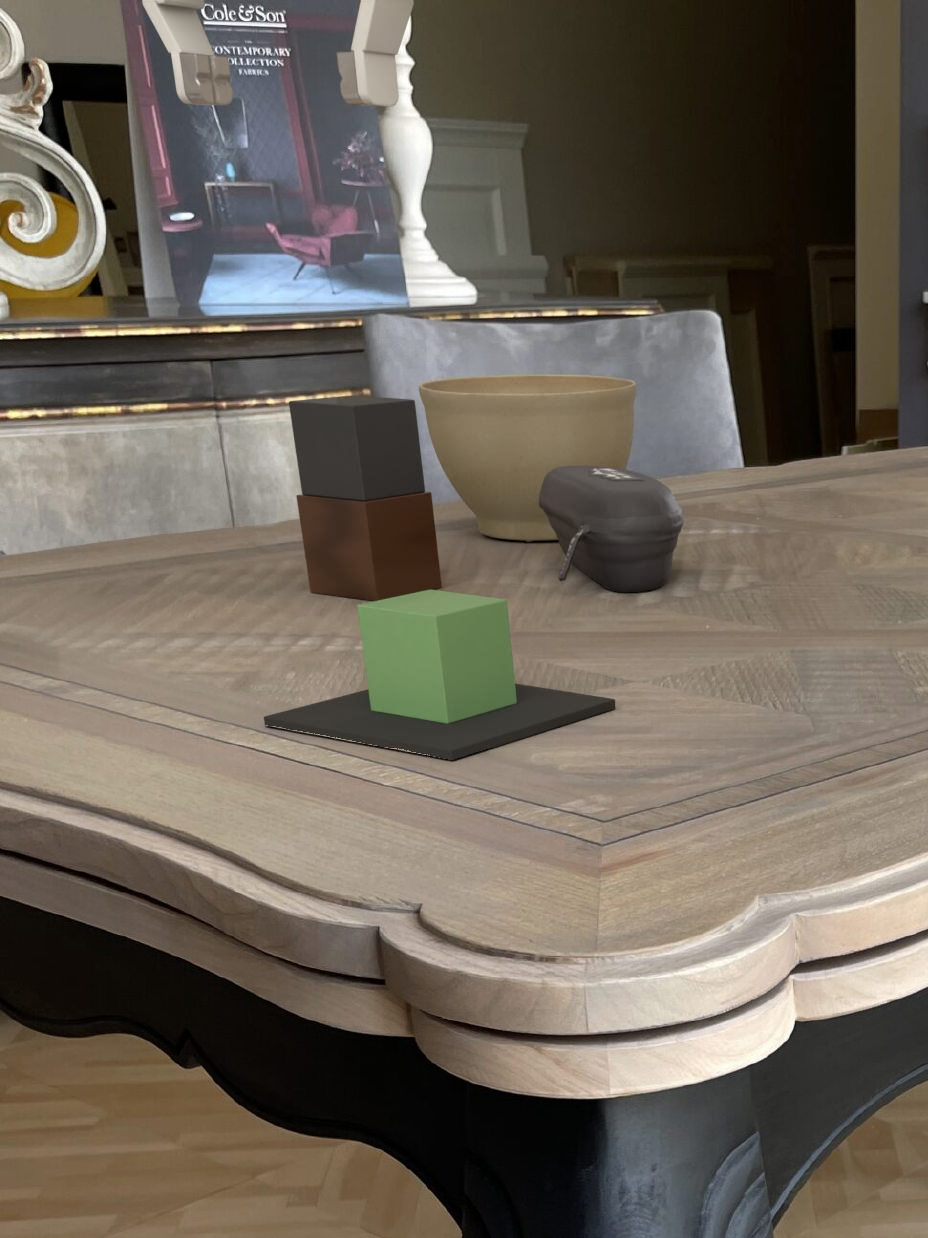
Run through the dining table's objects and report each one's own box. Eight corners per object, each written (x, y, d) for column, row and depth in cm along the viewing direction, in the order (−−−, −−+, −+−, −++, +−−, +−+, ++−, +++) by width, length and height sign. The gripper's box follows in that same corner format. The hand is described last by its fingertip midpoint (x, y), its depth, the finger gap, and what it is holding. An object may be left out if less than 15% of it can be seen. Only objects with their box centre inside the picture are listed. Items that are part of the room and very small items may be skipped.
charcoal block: (301, 494, 115) (287, 401, 113) (363, 485, 120) (352, 395, 117) (364, 501, 113) (352, 405, 110) (425, 492, 117) (415, 399, 114)
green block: (370, 711, 88) (356, 604, 85) (442, 691, 92) (430, 589, 89) (447, 724, 86) (435, 615, 83) (517, 703, 89) (507, 599, 87)
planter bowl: (418, 525, 145) (401, 376, 139) (614, 515, 150) (604, 372, 145) (457, 555, 132) (439, 393, 127) (669, 543, 138) (660, 387, 132)
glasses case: (733, 575, 120) (688, 460, 115) (593, 644, 118) (542, 530, 114) (655, 534, 134) (612, 429, 129) (529, 595, 132) (481, 491, 128)
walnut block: (310, 592, 118) (295, 495, 115) (376, 579, 123) (363, 485, 120) (377, 601, 116) (364, 502, 113) (442, 588, 120) (431, 491, 117)
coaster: (264, 726, 87) (262, 716, 87) (437, 680, 96) (436, 670, 96) (452, 761, 82) (451, 750, 82) (616, 708, 91) (615, 698, 91)
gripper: (-19, -320, 70) (53, 99, 76) (373, -376, 61) (415, 100, 68) (116, -282, 75) (173, 109, 81) (497, -329, 66) (525, 111, 73)
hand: (286, 105), depth 75 cm, fingers open, 8 cm apart
